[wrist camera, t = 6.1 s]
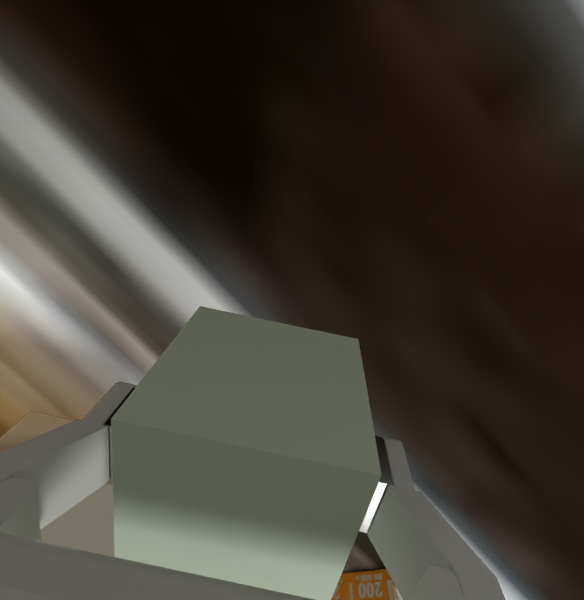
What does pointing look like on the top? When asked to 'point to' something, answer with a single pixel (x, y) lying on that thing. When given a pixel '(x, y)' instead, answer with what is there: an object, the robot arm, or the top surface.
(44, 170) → the top surface
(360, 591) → the supplement box
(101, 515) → the tower top
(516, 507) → the top surface
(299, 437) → the sage cube
